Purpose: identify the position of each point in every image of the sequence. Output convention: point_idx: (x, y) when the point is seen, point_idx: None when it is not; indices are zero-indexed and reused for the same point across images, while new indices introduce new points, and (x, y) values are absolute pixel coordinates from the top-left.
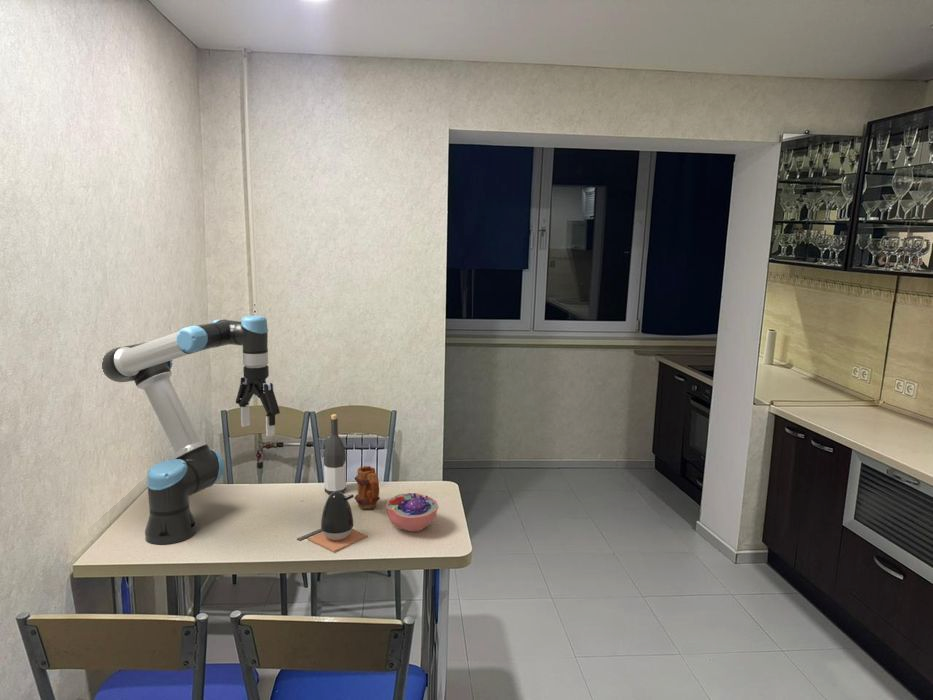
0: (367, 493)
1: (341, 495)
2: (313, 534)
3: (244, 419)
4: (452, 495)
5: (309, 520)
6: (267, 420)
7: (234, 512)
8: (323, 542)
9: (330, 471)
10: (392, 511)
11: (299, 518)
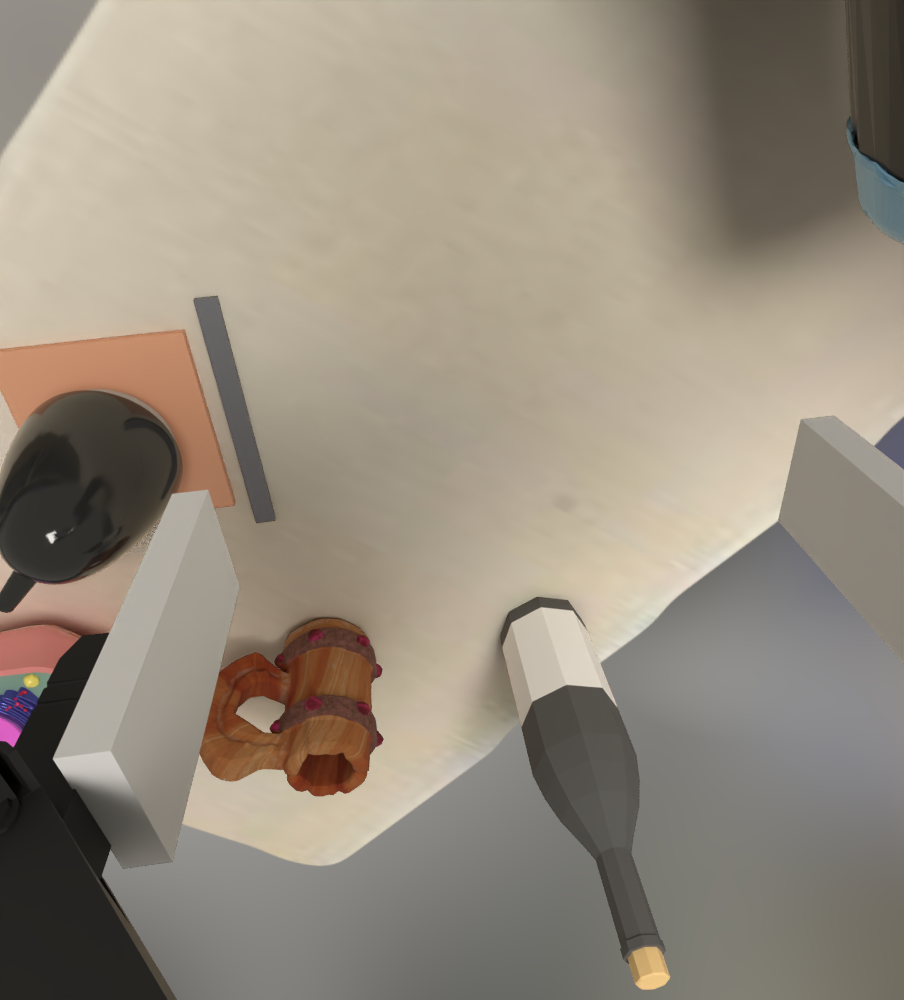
0: (287, 680)
1: (9, 566)
2: (215, 375)
3: (858, 509)
4: (227, 838)
5: (368, 433)
6: (92, 679)
7: (706, 220)
8: (96, 363)
9: (547, 677)
10: (8, 665)
11: (417, 413)
